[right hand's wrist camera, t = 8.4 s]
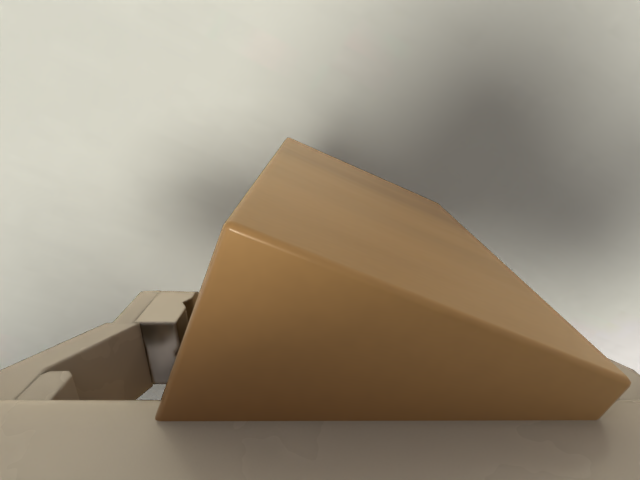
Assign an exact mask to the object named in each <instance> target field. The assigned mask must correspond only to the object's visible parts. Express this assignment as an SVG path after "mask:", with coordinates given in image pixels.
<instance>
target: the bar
mask: <svg viewBox="0 0 640 480" xmlns="http://www.w3.org/2000/svg"><path fill="white" fill-rule="evenodd" d="M630 385H631V381H630V379H629V378H628V377H627V376H626V375H625V374H624V373H623V372H622V371H621V370H620V369H619V368H617V367H616V366H615V365H614V364H613V363H612V362H611V361H610V360H609V359H608V358H607V357H605V356H604V355H603V354H602V353H601V352H600V351H599V350H598V349H597V348H596V347H595V346H593V345H592V344H591V343H590V342H589V341H588V340H587V339H586V338H585V337H584V336H582V335H581V334H580V333H579V332H578V331H577V330H576V329H575V328H574V327H573V326H572V325H570V324H569V323H568V322H567V321H566V320H565V319H564V318H563V317H562V316H561V315H560V314H558V313H557V312H556V311H555V310H554V309H553V308H552V307H551V306H550V305H549V304H547V303H546V302H545V301H544V300H543V299H542V298H541V297H540V296H539V295H538V294H537V293H535V292H534V291H533V290H532V289H531V288H530V287H529V286H528V285H527V284H526V283H525V282H523V281H522V280H521V279H520V278H519V277H518V276H517V275H516V274H515V273H514V272H512V271H511V270H510V269H509V268H508V267H507V266H506V265H505V264H504V263H503V262H502V261H500V260H499V259H498V258H497V257H496V256H495V255H494V254H493V253H492V252H491V251H490V250H488V249H487V248H486V247H485V246H484V245H483V244H482V243H481V242H480V241H479V240H477V239H476V238H475V237H474V236H473V235H472V234H471V233H470V232H469V231H468V230H467V229H465V228H464V227H463V226H462V225H461V224H460V223H459V222H458V221H457V220H456V219H454V218H453V217H452V216H451V215H450V214H449V213H448V212H447V211H446V210H445V209H444V208H442V207H441V206H440V205H439V204H438V203H436V202H434V201H432V200H429V199H427V198H425V197H423V196H420V195H418V194H416V193H414V192H411V191H409V190H407V189H404V188H402V187H400V186H398V185H395V184H393V183H391V182H389V181H386V180H384V179H382V178H380V177H377V176H375V175H373V174H370V173H368V172H366V171H364V170H361V169H359V168H357V167H355V166H352V165H350V164H348V163H346V162H343V161H341V160H339V159H337V158H334V157H332V156H330V155H327V154H325V153H323V152H321V151H318V150H316V149H314V148H312V147H309V146H307V145H305V144H303V143H300V142H298V141H296V140H294V139H291V138H287V139H286V140H285V141H284V142H283V144H282V145H281V147H280V148H279V149H278V151H277V152H276V153H275V155H274V156H273V158H272V159H271V160H270V162H269V163H268V164H267V166H266V167H265V168H264V170H263V171H262V173H261V174H260V175H259V177H258V178H257V179H256V181H255V182H254V184H253V185H252V186H251V188H250V189H249V190H248V192H247V193H246V195H245V196H244V197H243V199H242V200H241V201H240V203H239V204H238V206H237V207H236V208H235V210H234V211H233V212H232V214H231V215H230V217H229V218H228V219H227V221H226V222H225V223H224V225H223V227H222V230H221V233H220V236H219V238H218V241H217V244H216V247H215V250H214V252H213V255H212V258H211V261H210V264H209V267H208V269H207V272H206V275H205V278H204V281H203V283H202V286H201V289H200V292H199V295H198V297H197V300H196V303H195V306H194V309H193V311H192V314H191V317H190V320H189V323H188V325H187V328H186V331H185V334H184V337H183V339H182V342H181V345H180V348H179V351H178V353H177V356H176V359H175V362H174V365H173V368H172V370H171V373H170V376H169V379H168V382H167V384H166V387H165V390H164V393H163V396H162V398H161V401H160V404H159V407H158V410H157V412H156V415H155V420H157V421H500V420H598V419H600V417H601V416H602V415H603V414H604V413H605V412H606V411H607V410H608V409H609V408H610V407H611V406H612V405H613V404H614V403H615V402H616V401H617V400H618V399H619V398H620V397H621V395H622V394H623V393H624V392H625V391H626V390H627V389H628V388H629V387H630Z"/></svg>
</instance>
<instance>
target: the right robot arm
mask: <svg viewBox="0 0 640 480" xmlns="http://www.w3.org/2000/svg"><path fill="white" fill-rule="evenodd" d="M198 295H199V292H184V291H143V292H140V293H139V294H138V296H137V297H136V298H135V299H134V300H133V301H132V302H131V303H130V304H129V305H128V306H127V308H126V309H125V310H124V311H123V312H122V313H121V314H120V315H119V316H118V317H117V318H116V320H115V321H114V322H113V323H105V324H103V325H101V326H98V327H96V328H94V329H92V330H90V331H87V332H85V333H83V334H81V335H78V336H76V337H74V338H72V339H69V340H67V341H65V342H63V343H60V344H58V345H56V346H54V347H51V348H49V349H47V350H45V351H42V352H40V353H38V354H36V355H33V356H31V357H29V358H27V359H25V360H22V361H20V362H18V363H16V364H13V365H11V366H9V367H7V368H4V369H2V370H1V371H0V480H640V375H639V374H638V373H637V372H635V371H634V370H632V369H630V368H628V367H626V366H624V365H621V364H619V363H617V362H615V361H613V360H610V359H609V360H610V361H611V362H612V363H613V364H614V365H615V366H616V367H617V368H619V369H620V370H621V371H622V372H623V373H624V374H625V375H626V376H627V377H628V378H629V379H630V381H631V385H630V387H629V388H628V389H627V390H626V391H625V392H624V393H623V394H622V395H621V397H620V398H619V399H618V400H617V401H616V402H615V403H614V404H613V405H612V406H611V407H610V408H609V409H608V410H607V411H606V412H605V413H604V414H603V415H602V416H601V417H600V419H598V420H500V421H157V420H155V415H156V412H157V410H158V407H159V404H160V401H161V400H136V399H137V398H138V397H140V396H141V395H142V394H143V393H145V392H146V391H147V390H148V389H149V388H151V387H152V386H153V385H152V384H167V382H168V379H169V376H170V373H171V370H172V368H173V365H174V362H175V359H176V356H177V353H178V351H179V348H180V345H181V342H182V339H183V337H184V334H185V331H186V328H187V325H188V323H189V320H190V317H191V314H192V311H193V309H194V306H195V303H196V300H197V297H198Z"/></svg>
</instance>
